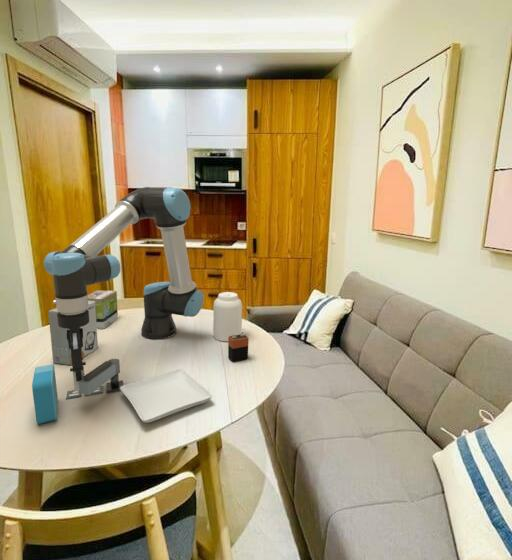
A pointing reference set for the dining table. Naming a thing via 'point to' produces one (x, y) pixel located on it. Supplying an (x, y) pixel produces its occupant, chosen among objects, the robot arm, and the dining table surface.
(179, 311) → the robot arm
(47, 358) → the dining table surface
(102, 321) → the tea box
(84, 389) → the swing arm
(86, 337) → the hard drive box
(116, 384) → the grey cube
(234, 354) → the battery
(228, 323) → the white jar
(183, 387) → the salad plate
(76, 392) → the label plate
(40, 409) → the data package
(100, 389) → the label plate
